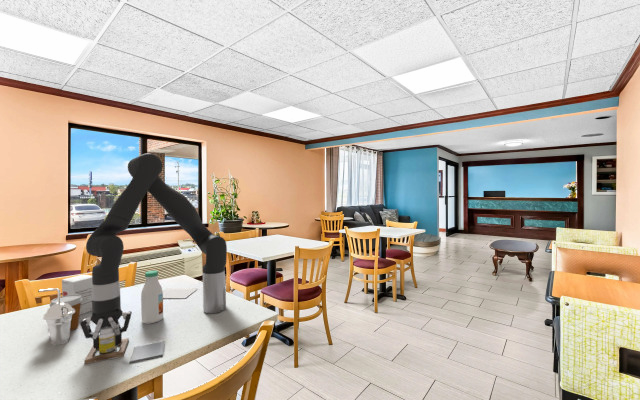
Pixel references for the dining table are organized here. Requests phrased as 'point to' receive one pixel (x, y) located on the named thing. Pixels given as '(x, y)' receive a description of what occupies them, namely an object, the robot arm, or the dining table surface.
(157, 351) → the coaster
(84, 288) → the supplement box
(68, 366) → the dining table surface
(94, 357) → the wooden square frame
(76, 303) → the disposable coffee cup
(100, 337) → the supplement bottle
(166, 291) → the white flat square
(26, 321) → the dining table surface
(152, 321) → the milk bottle
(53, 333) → the cup with straw
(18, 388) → the dining table surface
